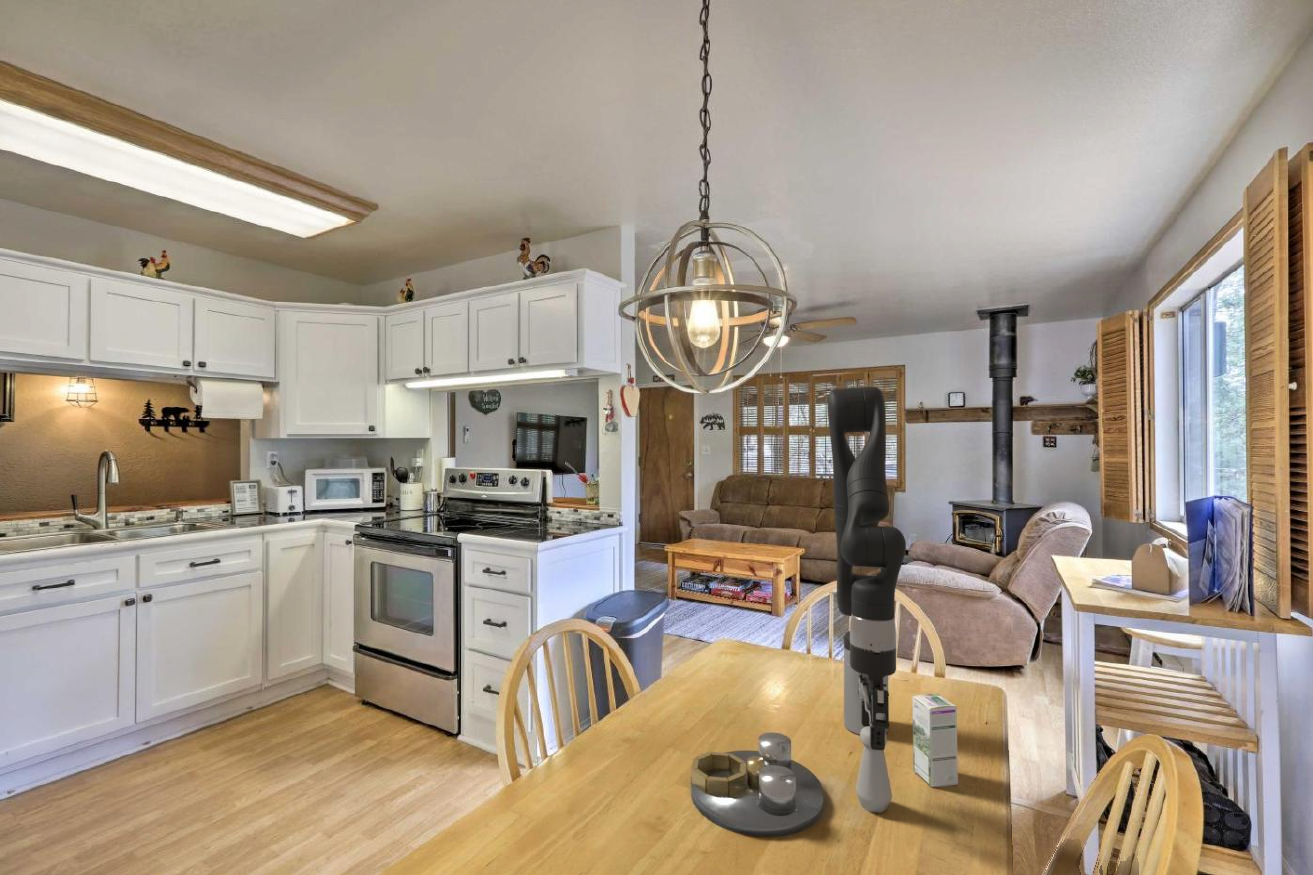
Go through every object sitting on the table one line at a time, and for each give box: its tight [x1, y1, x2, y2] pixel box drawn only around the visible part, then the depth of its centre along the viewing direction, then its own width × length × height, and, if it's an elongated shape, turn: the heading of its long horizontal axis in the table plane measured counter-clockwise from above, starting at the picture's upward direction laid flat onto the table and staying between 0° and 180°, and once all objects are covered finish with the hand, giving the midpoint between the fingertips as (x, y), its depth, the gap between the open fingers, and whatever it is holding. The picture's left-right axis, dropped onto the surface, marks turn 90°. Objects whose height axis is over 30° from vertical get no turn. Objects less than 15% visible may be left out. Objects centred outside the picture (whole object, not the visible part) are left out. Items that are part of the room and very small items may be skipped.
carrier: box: [690, 732, 824, 838], centre depth 107 cm, size 23×23×7 cm
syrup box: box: [912, 693, 959, 788], centre depth 112 cm, size 6×6×14 cm
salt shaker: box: [855, 726, 893, 814], centre depth 104 cm, size 6×6×13 cm
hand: (872, 737), depth 103 cm, fingers open, 8 cm apart
